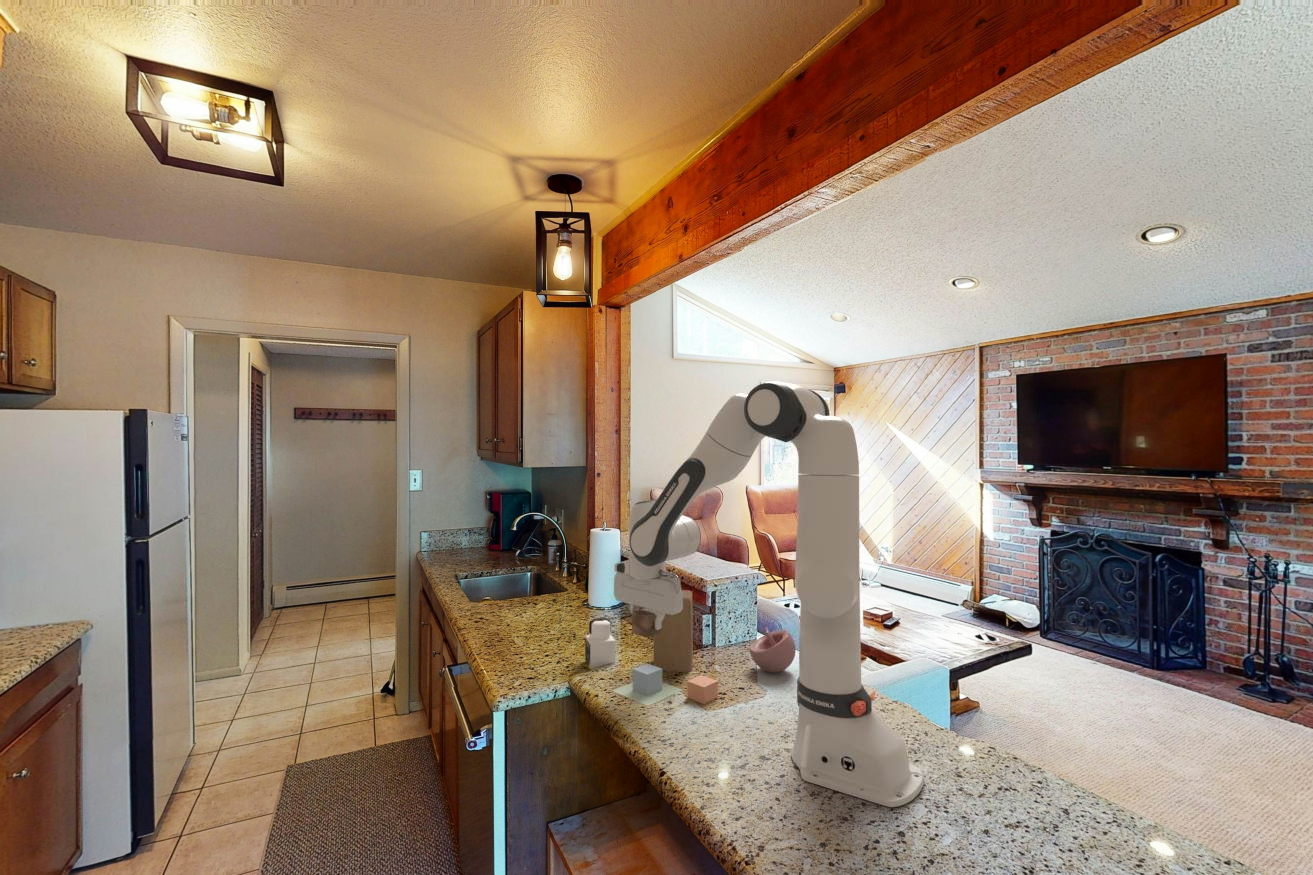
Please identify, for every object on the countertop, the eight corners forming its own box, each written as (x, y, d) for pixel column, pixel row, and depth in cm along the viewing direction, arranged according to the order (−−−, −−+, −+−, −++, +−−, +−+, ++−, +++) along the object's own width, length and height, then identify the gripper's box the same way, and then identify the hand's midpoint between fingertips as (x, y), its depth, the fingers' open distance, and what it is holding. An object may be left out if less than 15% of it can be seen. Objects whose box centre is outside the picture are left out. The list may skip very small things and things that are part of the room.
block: (692, 662, 153) (692, 589, 154) (691, 676, 143) (691, 598, 144) (656, 661, 154) (656, 588, 155) (653, 675, 144) (652, 597, 145)
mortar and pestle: (747, 662, 154) (746, 620, 154) (790, 662, 153) (790, 620, 154) (752, 679, 142) (752, 633, 142) (800, 679, 141) (799, 634, 142)
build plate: (683, 694, 132) (683, 689, 132) (647, 711, 123) (647, 705, 123) (647, 681, 140) (647, 676, 140) (611, 695, 132) (611, 690, 132)
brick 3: (718, 702, 128) (717, 680, 128) (704, 709, 124) (704, 687, 125) (701, 696, 131) (701, 675, 132) (687, 703, 128) (687, 681, 128)
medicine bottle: (584, 660, 155) (585, 617, 155) (609, 658, 157) (609, 615, 158) (589, 670, 148) (589, 624, 149) (615, 667, 150) (615, 622, 151)
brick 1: (661, 632, 133) (661, 611, 133) (646, 637, 129) (647, 615, 129) (646, 628, 136) (646, 607, 136) (632, 632, 132) (632, 611, 133)
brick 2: (662, 689, 132) (662, 668, 132) (647, 696, 128) (647, 674, 129) (647, 684, 135) (647, 663, 136) (632, 690, 132) (632, 668, 132)
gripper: (688, 571, 128) (688, 632, 128) (628, 560, 142) (627, 615, 142) (670, 575, 124) (670, 638, 123) (609, 563, 138) (609, 620, 137)
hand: (647, 625), depth 133 cm, fingers closed on brick 1, 5 cm apart
